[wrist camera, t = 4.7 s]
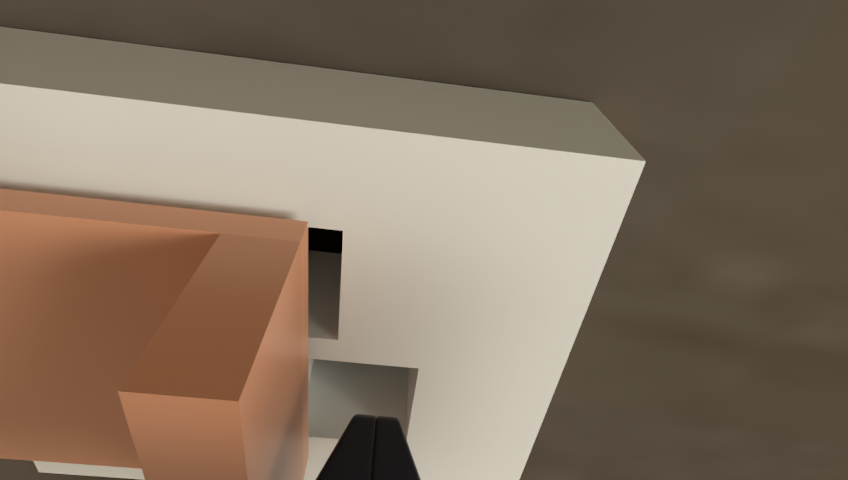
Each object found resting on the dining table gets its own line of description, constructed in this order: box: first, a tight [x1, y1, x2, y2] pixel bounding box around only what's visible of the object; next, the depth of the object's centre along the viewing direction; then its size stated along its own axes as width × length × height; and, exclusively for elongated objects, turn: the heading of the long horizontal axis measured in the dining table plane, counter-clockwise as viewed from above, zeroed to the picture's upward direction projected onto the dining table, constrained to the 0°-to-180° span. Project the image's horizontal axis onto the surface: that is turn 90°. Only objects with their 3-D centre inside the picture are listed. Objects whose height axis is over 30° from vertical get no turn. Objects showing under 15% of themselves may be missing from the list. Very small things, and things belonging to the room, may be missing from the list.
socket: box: [0, 27, 646, 480], centre depth 11 cm, size 10×12×3 cm
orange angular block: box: [0, 188, 309, 480], centre depth 8 cm, size 6×7×4 cm
